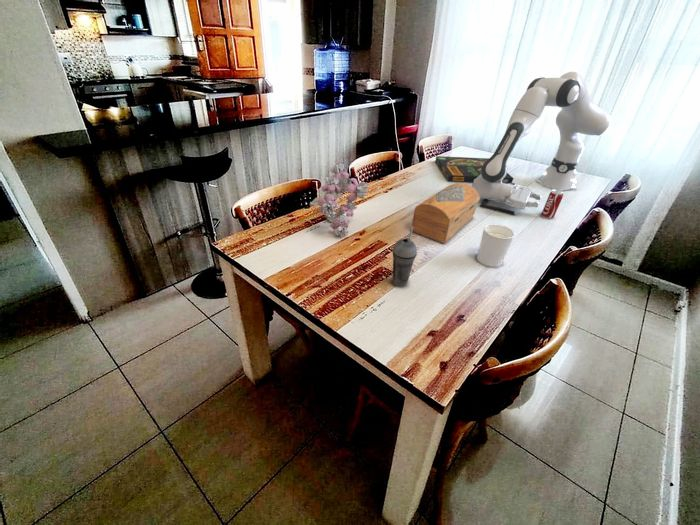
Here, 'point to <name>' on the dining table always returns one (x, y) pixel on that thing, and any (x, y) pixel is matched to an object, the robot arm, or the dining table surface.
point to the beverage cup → (403, 260)
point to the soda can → (552, 204)
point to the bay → (496, 208)
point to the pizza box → (463, 169)
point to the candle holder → (494, 244)
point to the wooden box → (445, 212)
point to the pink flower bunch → (334, 192)
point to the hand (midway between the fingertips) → (539, 201)
